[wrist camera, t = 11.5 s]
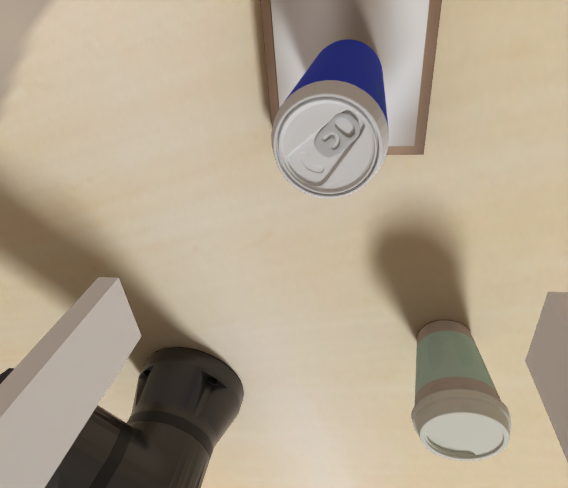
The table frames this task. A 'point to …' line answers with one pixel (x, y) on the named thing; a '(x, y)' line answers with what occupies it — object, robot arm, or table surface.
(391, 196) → the table surface
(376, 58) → the beverage can
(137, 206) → the table surface
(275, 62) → the stand
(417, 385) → the coffee cup
